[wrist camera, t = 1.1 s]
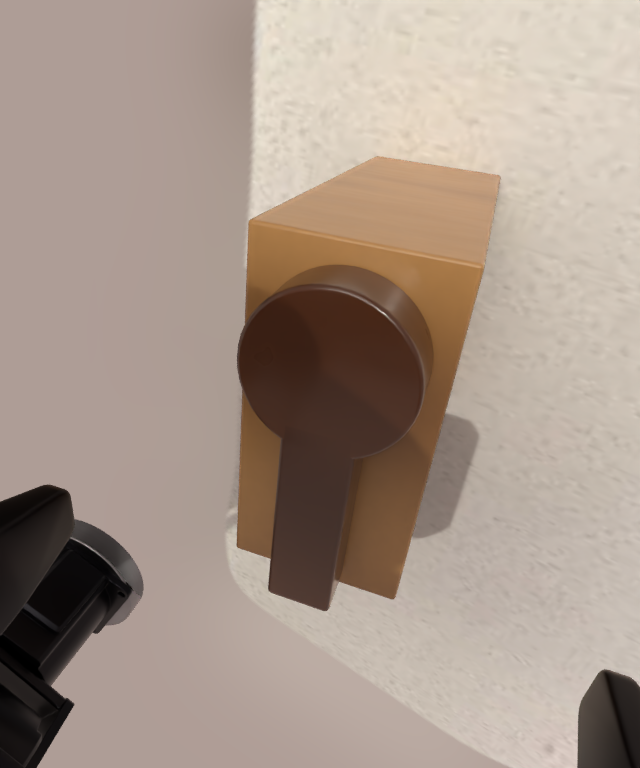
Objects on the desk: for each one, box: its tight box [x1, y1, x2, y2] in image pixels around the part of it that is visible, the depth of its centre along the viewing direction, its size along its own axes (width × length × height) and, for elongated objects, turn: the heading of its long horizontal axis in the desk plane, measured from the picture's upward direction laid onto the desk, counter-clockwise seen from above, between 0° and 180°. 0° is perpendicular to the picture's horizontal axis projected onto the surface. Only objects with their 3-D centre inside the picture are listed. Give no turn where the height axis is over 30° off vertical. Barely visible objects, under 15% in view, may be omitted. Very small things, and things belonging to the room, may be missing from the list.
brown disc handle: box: [237, 265, 433, 611], centre depth 10 cm, size 7×3×1 cm, turn 174°
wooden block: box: [237, 156, 500, 599], centre depth 15 cm, size 8×4×10 cm, turn 174°
